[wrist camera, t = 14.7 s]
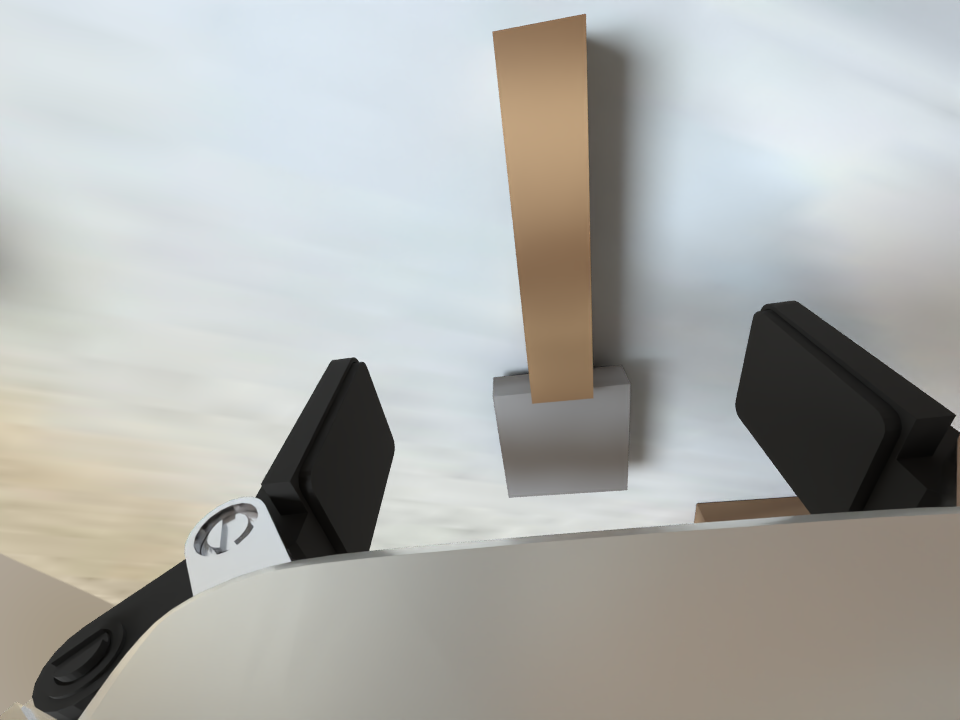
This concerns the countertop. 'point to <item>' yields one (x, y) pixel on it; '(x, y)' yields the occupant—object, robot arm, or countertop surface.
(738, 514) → the stop strip
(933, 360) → the countertop surface
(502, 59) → the turner
